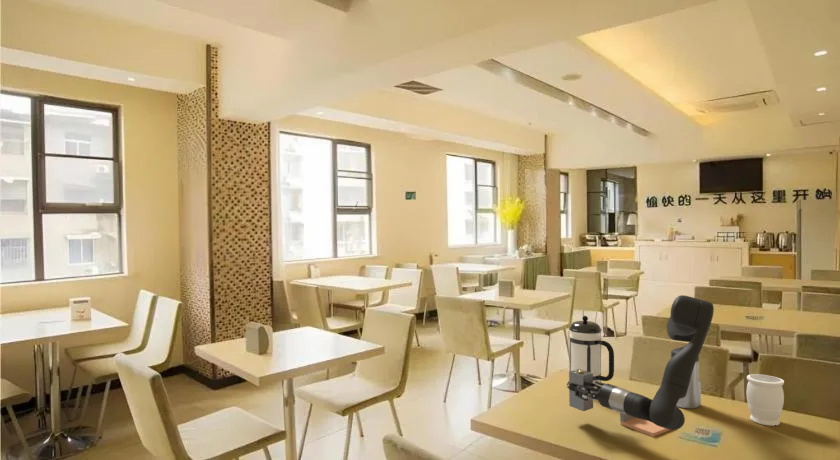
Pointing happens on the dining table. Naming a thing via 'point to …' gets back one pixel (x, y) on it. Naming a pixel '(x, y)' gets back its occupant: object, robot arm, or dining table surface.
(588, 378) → the block
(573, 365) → the coffee press
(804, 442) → the dining table surface
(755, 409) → the jar
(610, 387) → the robot arm
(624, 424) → the dock
